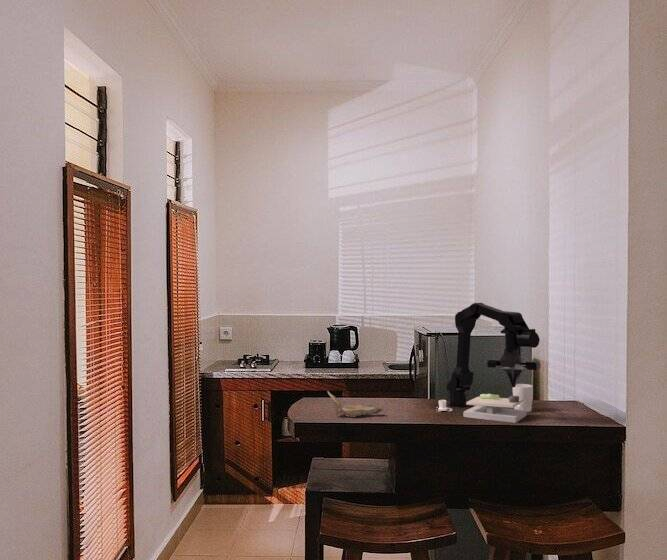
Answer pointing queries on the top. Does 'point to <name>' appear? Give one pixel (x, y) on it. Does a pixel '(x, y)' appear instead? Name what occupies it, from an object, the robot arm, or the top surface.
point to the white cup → (524, 396)
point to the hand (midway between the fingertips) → (513, 387)
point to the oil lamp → (354, 408)
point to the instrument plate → (495, 401)
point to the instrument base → (495, 413)
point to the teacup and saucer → (443, 406)
